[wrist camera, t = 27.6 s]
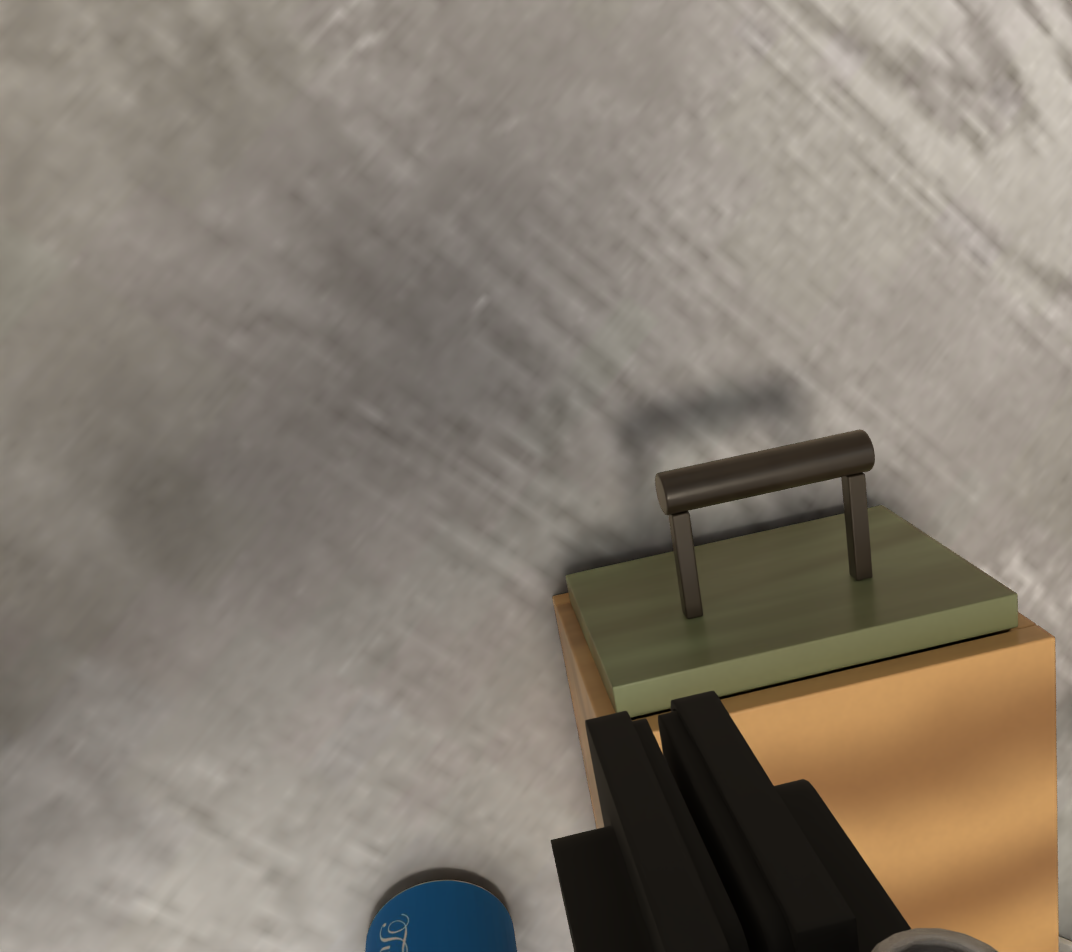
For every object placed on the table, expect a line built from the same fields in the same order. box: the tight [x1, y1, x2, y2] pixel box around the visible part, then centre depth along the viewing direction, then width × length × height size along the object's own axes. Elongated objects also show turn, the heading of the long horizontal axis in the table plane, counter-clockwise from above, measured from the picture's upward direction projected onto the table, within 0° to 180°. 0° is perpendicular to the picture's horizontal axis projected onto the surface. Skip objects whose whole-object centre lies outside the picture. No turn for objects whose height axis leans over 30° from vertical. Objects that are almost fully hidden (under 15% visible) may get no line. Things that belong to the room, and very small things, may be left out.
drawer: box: [566, 430, 1018, 720], centre depth 35 cm, size 21×13×9 cm, turn 10°
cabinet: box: [552, 593, 1059, 952], centre depth 36 cm, size 17×14×11 cm
